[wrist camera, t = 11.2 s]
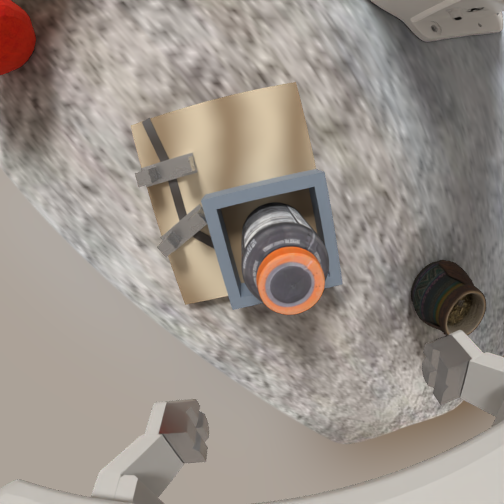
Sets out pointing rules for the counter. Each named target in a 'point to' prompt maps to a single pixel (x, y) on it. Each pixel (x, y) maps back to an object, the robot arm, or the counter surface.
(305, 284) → the pill bottle
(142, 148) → the board
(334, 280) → the end holder
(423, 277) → the mate gourd
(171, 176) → the clips
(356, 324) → the counter surface
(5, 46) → the apple
